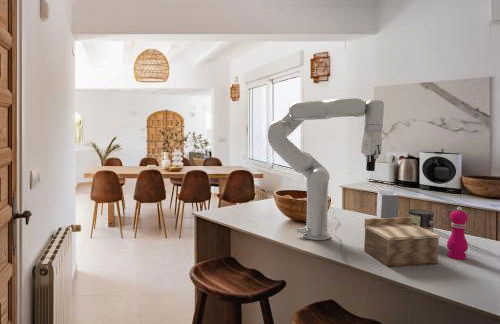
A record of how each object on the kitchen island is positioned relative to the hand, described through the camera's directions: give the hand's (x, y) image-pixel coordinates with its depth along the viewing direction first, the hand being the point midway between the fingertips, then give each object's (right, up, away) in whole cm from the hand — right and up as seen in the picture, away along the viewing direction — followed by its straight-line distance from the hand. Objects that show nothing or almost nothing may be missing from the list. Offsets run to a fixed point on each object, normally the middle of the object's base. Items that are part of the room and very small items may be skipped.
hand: (370, 170), depth 166 cm
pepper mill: (+28, -34, -17) cm, 47 cm away
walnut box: (+5, -33, -19) cm, 39 cm away
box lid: (+5, -23, -20) cm, 31 cm away
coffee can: (+22, -32, +1) cm, 39 cm away
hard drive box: (+12, -31, +15) cm, 36 cm away
